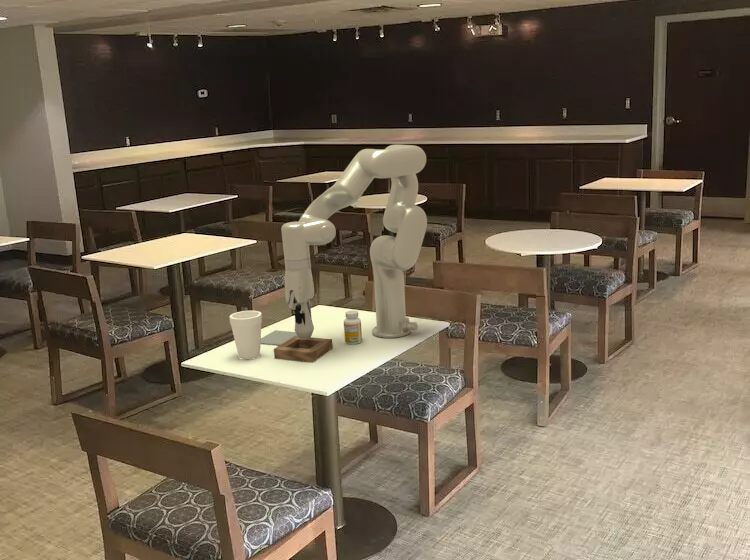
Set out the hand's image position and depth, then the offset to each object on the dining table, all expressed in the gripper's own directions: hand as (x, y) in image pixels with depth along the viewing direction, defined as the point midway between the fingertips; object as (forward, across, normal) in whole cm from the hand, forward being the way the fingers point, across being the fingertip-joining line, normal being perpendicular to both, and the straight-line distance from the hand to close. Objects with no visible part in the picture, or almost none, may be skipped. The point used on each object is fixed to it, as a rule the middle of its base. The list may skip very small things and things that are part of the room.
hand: (303, 323), depth 230 cm
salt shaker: (+4, 0, 0) cm, 4 cm away
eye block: (+9, +1, 0) cm, 9 cm away
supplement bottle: (+10, -13, +10) cm, 19 cm away
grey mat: (+9, -10, -14) cm, 20 cm away
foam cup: (+9, +7, -16) cm, 20 cm away
